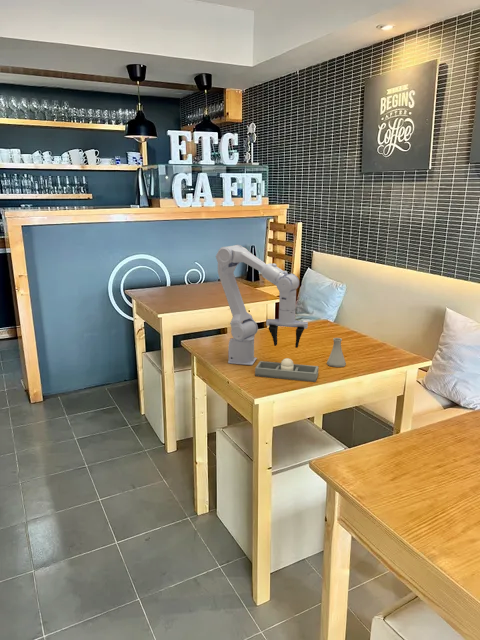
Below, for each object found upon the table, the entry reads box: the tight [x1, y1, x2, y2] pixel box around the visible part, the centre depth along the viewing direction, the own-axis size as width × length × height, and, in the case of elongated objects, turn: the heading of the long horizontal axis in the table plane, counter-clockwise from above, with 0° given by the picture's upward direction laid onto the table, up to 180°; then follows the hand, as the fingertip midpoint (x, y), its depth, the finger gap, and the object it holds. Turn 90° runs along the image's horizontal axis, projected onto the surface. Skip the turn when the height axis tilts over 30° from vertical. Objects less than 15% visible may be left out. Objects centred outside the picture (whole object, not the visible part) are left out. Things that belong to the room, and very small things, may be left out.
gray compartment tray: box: [254, 360, 319, 383], centre depth 173 cm, size 21×8×3 cm, turn 75°
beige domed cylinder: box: [280, 357, 295, 371], centre depth 173 cm, size 4×4×5 cm
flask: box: [326, 337, 347, 368], centre depth 183 cm, size 7×7×10 cm
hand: (286, 346), depth 176 cm, fingers open, 7 cm apart
